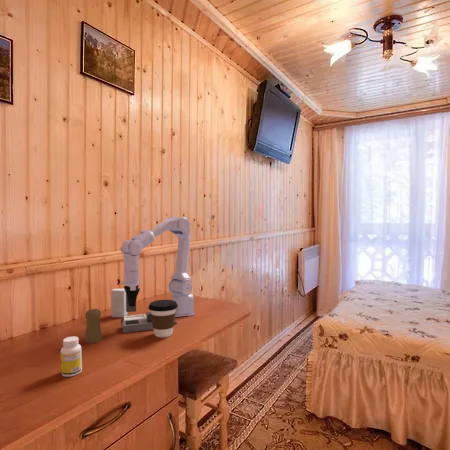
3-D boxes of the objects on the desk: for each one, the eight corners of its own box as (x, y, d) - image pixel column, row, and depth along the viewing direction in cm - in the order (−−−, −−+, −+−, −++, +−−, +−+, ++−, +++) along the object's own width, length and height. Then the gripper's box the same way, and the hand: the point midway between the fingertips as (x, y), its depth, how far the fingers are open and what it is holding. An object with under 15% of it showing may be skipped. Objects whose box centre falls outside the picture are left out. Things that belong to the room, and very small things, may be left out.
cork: (106, 338, 119) (105, 308, 119) (94, 344, 113) (93, 313, 113) (92, 336, 121) (92, 306, 121) (80, 342, 115) (80, 311, 115)
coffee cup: (183, 332, 125) (183, 301, 124) (165, 342, 115) (165, 308, 115) (161, 327, 130) (161, 297, 130) (142, 336, 120) (142, 304, 120)
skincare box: (128, 314, 147) (127, 288, 147) (124, 317, 143) (124, 290, 142) (115, 314, 148) (114, 288, 147) (111, 317, 143) (110, 290, 143)
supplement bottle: (65, 368, 95) (65, 335, 95) (84, 367, 96) (84, 335, 96) (57, 377, 90) (57, 342, 90) (78, 376, 91) (77, 342, 90)
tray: (145, 316, 144) (145, 314, 144) (146, 321, 137) (146, 318, 137) (123, 318, 141) (123, 316, 141) (124, 324, 134) (124, 321, 134)
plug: (126, 309, 129) (125, 291, 129) (135, 308, 131) (135, 290, 130) (126, 312, 126) (126, 293, 126) (136, 311, 127) (135, 292, 127)
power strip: (175, 320, 138) (175, 307, 138) (179, 326, 132) (178, 312, 131) (122, 327, 131) (122, 313, 131) (123, 332, 124) (123, 318, 124)
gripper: (120, 268, 133) (120, 301, 134) (121, 274, 120) (122, 310, 120) (137, 267, 136) (138, 299, 136) (141, 273, 122) (141, 309, 123)
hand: (131, 304), depth 128 cm, fingers closed on plug, 4 cm apart
